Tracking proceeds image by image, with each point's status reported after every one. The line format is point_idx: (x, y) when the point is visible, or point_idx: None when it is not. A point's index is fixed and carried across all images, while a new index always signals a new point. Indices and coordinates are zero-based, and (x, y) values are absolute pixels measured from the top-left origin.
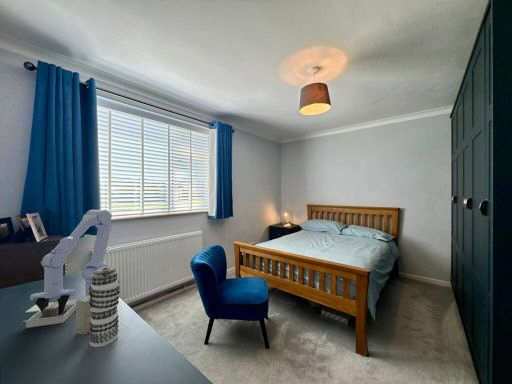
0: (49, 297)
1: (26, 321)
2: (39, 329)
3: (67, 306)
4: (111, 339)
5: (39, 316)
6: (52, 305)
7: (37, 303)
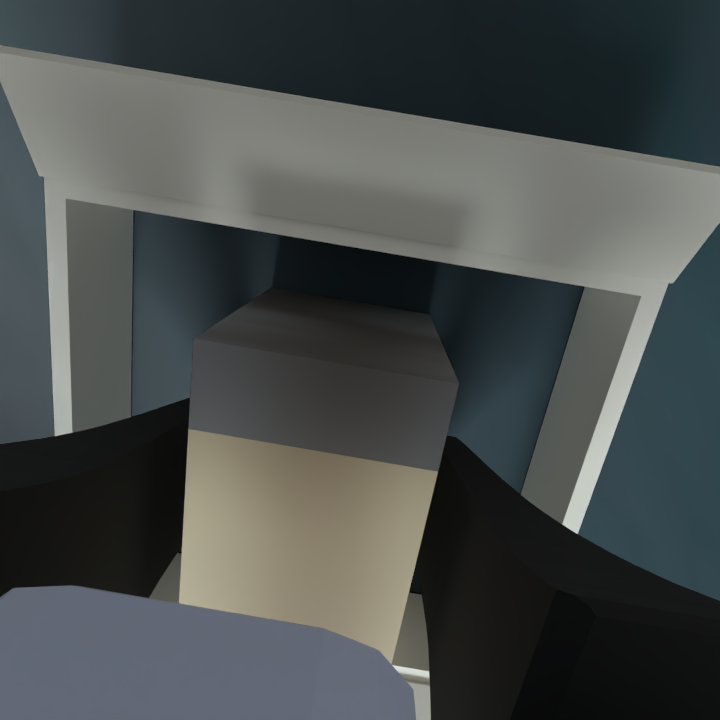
0: (26, 622)
1: (669, 218)
2: (397, 100)
3: None
4: None
5: None
6: (328, 584)
7: (689, 602)
